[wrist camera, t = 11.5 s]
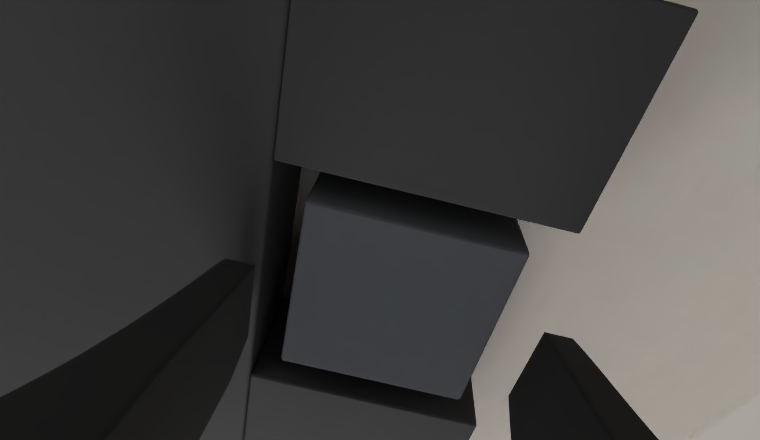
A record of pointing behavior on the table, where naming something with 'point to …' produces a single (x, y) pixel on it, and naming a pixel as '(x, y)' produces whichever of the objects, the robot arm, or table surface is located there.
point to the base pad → (289, 160)
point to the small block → (398, 285)
